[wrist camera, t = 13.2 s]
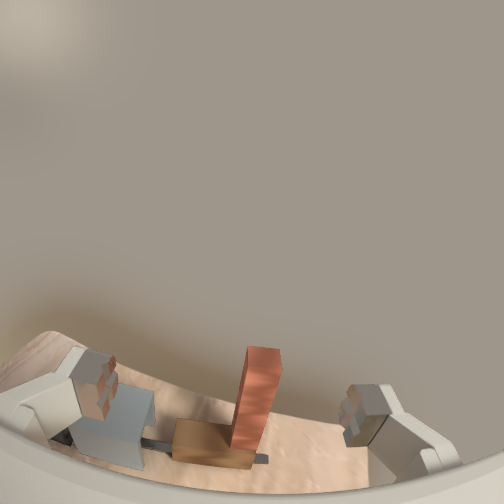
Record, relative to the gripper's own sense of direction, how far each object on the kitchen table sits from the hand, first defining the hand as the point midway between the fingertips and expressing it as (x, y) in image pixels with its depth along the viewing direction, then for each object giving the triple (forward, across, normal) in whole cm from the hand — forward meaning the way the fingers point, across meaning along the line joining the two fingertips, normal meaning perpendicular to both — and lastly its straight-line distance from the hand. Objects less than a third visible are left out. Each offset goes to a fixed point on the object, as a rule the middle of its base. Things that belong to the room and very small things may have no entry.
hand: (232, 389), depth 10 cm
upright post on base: (+16, -1, +29) cm, 33 cm away
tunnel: (+16, +12, +30) cm, 36 cm away
